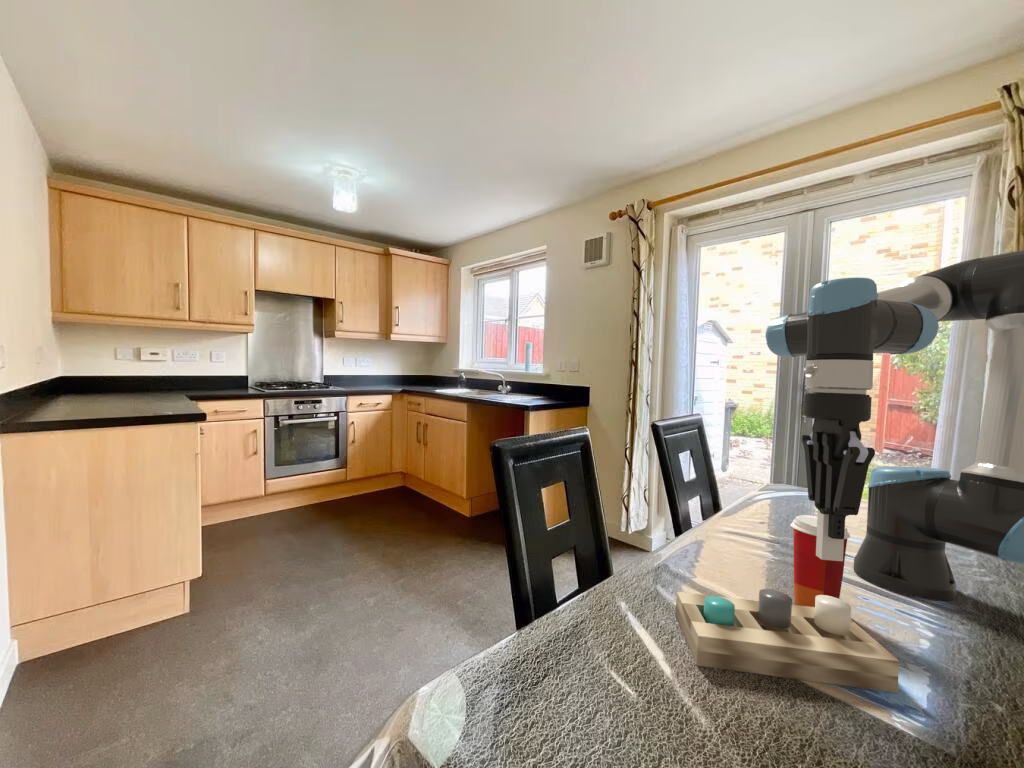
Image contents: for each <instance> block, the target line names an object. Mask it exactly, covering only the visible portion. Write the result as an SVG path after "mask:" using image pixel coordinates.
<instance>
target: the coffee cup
mask: <svg viewBox="0 0 1024 768" xmlns="http://www.w3.org/2000/svg"><path fill="white" fill-rule="evenodd" d="M817 517H818V515H817V516H815V515H808V514H807V515H806V514H805V515H803V514H801V515H797V516H795V517H794V519H792V522H791V524H790V527H791V528H793V531H792V534H793V537H792V538H793V585H794V586H793V593H794V594H793V595H794V605H799V606H808V607H815V597H816V596H817V595H827V596H832V597H835V598H838V599H840V598H841V590H842V583H843V577H844V569H845V562H846V561H845V559H846V551H847V545H848V539H850V538H851V535H850V533H849V532H848V528H847V527H846V526H845V529H844V530H845V532H844V549H843V561H833V560H822V559H820V558H819V557H818V556H816V539H817Z"/></svg>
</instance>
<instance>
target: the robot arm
mask: <svg viewBox="0 0 1024 768" xmlns="http://www.w3.org/2000/svg"><path fill="white" fill-rule="evenodd" d="M877 287H878V286H877V283H876V282H875V281H874V279H871V278H869V277H844V278H843V277H842V278H834V279H828V280H824V281H821V282H818V283H816V284H815V285H813V287H811V289H810V292H809V299H808V307H807V308H808V309H807V310H806V311H805V312H804V311H803V312H800V313H789V314H786V315H782V316H777V317H775V318H774V319H772V320H771V321H770V322H769V324H768V325H767V328H766V331H765V338H766V339H765V341H766V346H767V347H768V350H769V351H770V352H771V353H772V354H774V355H776V356H778V357H791V358H796V357H803V356H804V357H805V358H806V359H805V360H806V361H805V362H806V363H805V367H803V369H802V370H803V373H804V374H805V384H804V387H806V388H807V389H809V392H808V391H807V392H805V393H804V395H803V416H804V417H805V418H807V419H808V418H809V419H813V424H812V427H811V433H810V434H803V435H802V436H801V441H802V446H803V449H804V450H803V451H804V456H805V457H804V458H805V461H804V462H805V470H806V471H805V473H806V482H807V483H806V484H807V497H808V500H809V501H812V502H814V506H815V508H816V509H817V539H816V556H818V557H819V558H820V559H822V560H833V561H843V549H844V532H845V530H844V529H845V527H846V517H848V516H857V515H858V514H859V513H860V512H859V511H860V507H861V503H862V498H863V493H864V489H865V484H866V479H867V475H868V472H869V471H868V470H869V467H870V465H871V462H872V461H873V459H874V457H875V455H876V452H875V448H873V447H868V446H867V447H865V445H864V444H863V443H862V442H861V440H862V432H861V429H860V424H861V423H862V422H868V421H870V420H871V416H872V397H871V394H867V391H870V390H872V389H873V387H874V383H873V382H874V381H873V380H874V354H890V355H904V354H913V353H918V352H920V351H921V350H924V349H925V348H927V347H928V346H929V345H931V343H933V342H934V340H935V338H936V337H937V334H938V332H939V322H949V321H950V322H955V321H956V322H957V321H974V320H975V321H976V320H985V321H984V325H985V326H986V327H987V328H988V329H991V331H992V332H993V333H995V336H994V342H993V347H992V355H991V361H990V368H989V373H988V380H987V385H986V387H987V388H986V391H985V392H986V393H985V398H984V399H985V400H984V404H983V411H982V415H981V416H982V418H981V423H980V429H979V430H980V431H979V437H978V443H977V447H976V455H975V461H974V463H973V464H971V465H970V466H968V467H965V468H963V469H961V470H960V476H959V480H957V479H953V478H952V475H951V473H950V471H949V470H947V469H941V468H934V467H932V468H931V467H923V466H922V467H919V466H918V467H917V466H890V465H888V466H877V467H874V468H873V469H872V470H871V471H870V475H869V480H868V485H867V488H868V492H867V493H868V496H867V515H866V516H867V518H866V533H865V536H864V539H863V540H862V543H861V544H860V547H859V549H858V551H857V553H856V555H855V556H854V559H853V568H852V569H853V571H854V573H855V574H856V575H858V576H859V577H860V578H862V579H864V580H865V581H866V582H869V583H871V584H874V585H876V586H878V587H880V588H884V589H886V590H889V591H892V592H896V593H899V594H903V595H906V596H911V597H915V598H920V599H925V600H931V601H949V600H950V601H951V600H954V599H955V598H957V597H956V596H957V583H956V580H955V577H954V574H953V572H952V571H953V570H952V569H951V566H950V563H949V560H948V557H947V555H946V543H947V544H950V545H953V546H957V547H960V548H963V549H967V550H970V551H972V552H973V551H974V552H977V553H980V554H984V555H987V556H990V557H994V558H996V559H1000V560H1001V561H1003V562H1006V563H1014V564H1018V565H1022V566H1024V249H1021V250H1016V251H1011V252H1004V253H999V254H994V255H989V256H985V257H977V258H973V259H969V260H963V261H960V262H958V263H952V264H951V265H948V266H945V267H941V268H938V269H935V270H933V271H930V272H927V273H923V274H921V275H917V276H915V277H911V278H908V279H906V280H904V281H903V282H901V283H900V284H899V285H898V286H897V287H894V288H889V289H886V290H883V291H879V292H878V288H877Z"/></svg>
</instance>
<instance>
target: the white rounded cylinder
mask: <svg viewBox="0 0 1024 768" xmlns="http://www.w3.org/2000/svg"><path fill="white" fill-rule="evenodd" d="M851 613H852V605H850V604H849V602H847V601H845V600H843V599H840V598H839V599H838V598H835V597H832V596H827V595H817V596H816V597H815V614H814V623H815V624H816V625H817V626H818V627H819V628H821V629H823V630H825V631H827V632H829V633H832V634H836V635H848V634H849V633H850V619H851V616H852V615H851Z"/></svg>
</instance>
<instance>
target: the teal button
mask: <svg viewBox="0 0 1024 768" xmlns="http://www.w3.org/2000/svg"><path fill="white" fill-rule="evenodd" d="M718 596H719V595H718ZM718 596H716V595H710V596H707V597H705V599H704V616H703V618H704V620H705V622H706V623H710V624H719V625H727V626H734V614H735V605H734V604H733V603H732V602H731V601H729V600H727V599H725V598H722V597H723V596H719V597H718Z"/></svg>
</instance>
